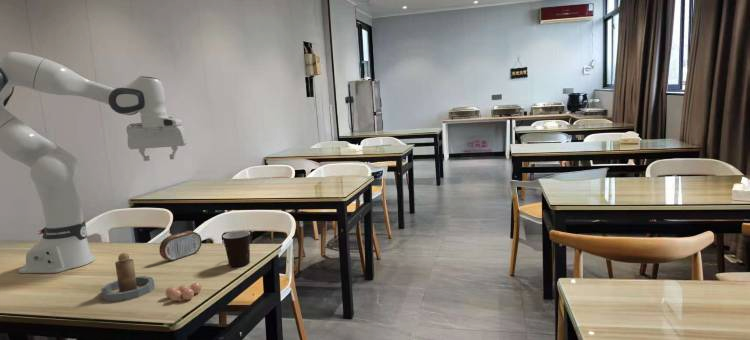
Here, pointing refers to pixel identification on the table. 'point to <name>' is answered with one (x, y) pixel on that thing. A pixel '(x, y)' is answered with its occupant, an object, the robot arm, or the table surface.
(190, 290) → the bead pile
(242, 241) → the coffee mug
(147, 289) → the ring
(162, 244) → the tin
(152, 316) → the table surface
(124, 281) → the pepper mill
